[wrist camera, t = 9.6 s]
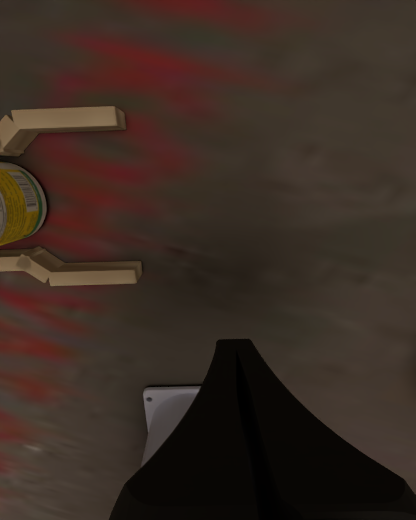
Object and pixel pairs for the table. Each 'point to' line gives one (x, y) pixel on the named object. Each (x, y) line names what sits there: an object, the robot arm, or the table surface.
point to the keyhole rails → (38, 259)
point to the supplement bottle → (19, 203)
